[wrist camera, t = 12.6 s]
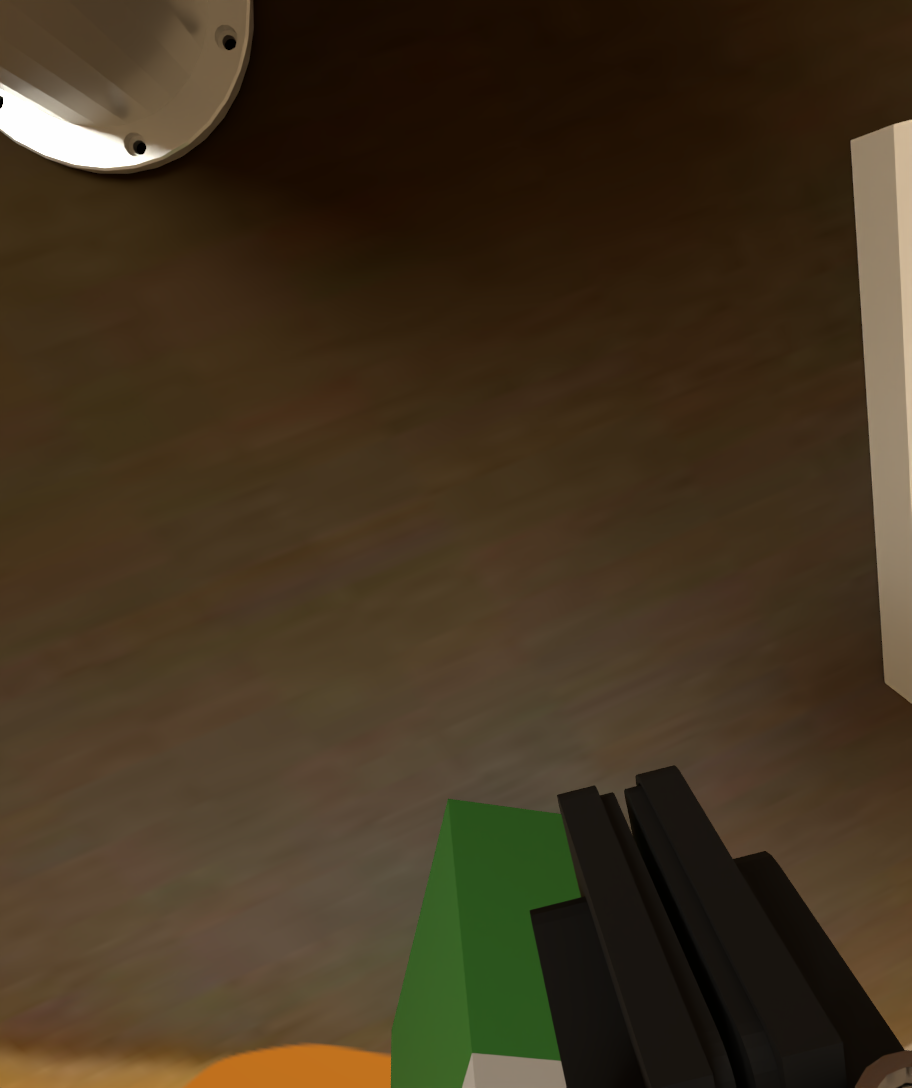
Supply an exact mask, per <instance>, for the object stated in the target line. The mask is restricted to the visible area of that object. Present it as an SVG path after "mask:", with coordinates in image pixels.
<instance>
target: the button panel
mask: <svg viewBox="0 0 912 1088" xmlns="http://www.w3.org/2000/svg"><path fill="white" fill-rule="evenodd" d="M851 157H852V173H853V189H854V205H855V221H856V236H857V252H858V268H859V284H860V300H861V316H862V332H863V348H864V364H865V380H866V395H867V411H868V427H869V443H870V459H871V475H872V491H873V507H874V523H875V538H876V554H877V570H878V586H879V602H880V618H881V634H882V650H883V666H884V681H885V683H886V684H887V685H888V686H889V687H891V688H892V689H893V690H895V691H896V692H897V693H899V694H900V695H901V696H902V697H904V698H905V699H906V700H908V701H909V702H910V703H911V704H912V120H908V121H904V122H901V123H897V124H893V125H890V126H888V127H885V128H882V129H880V130H877V131H874V132H872V133H869V134H867V135H864V136H861V137H859V138H856V139H853V140H851Z"/></svg>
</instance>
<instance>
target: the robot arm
mask: <svg viewBox="0 0 912 1088" xmlns="http://www.w3.org/2000/svg"><path fill="white" fill-rule="evenodd" d="M253 31H254V13H253V0H0V99H2V98H3V99H4V104H3V107H2V109H0V131H1V132H2V133H4V134H5V135H6V136H8V137H9V138H10V139H12V140H13V141H14V142H16V143H18V144H20V145H22V146H23V147H25V148H27V149H29V150H31V151H33V152H35V153H37V154H39V155H41V156H43V157H45V158H47V159H49V160H52V161H55V162H57V163H60V164H62V165H65V166H68V167H71V168H76V169H80V170H85V171H90V172H95V173H105V174H130V173H135V172H139V171H144V170H149V169H154V168H158V167H160V166H162V165H164V164H167V163H169V162H171V161H173V160H176V159H178V158H180V157H182V156H184V155H185V154H186V153H188V152H189V151H191V150H192V149H193V148H195V147H196V146H197V145H199V144H200V143H201V142H203V141H204V140H205V139H206V138H207V137H208V136H209V135H210V134H211V132H212V131H213V130H214V129H215V128H216V127H217V125H218V124H219V123H220V122H221V121H222V120H223V119H224V117H225V116H226V114H227V112H228V110H229V109H230V107H231V105H232V103H233V101H234V100H235V98H236V96H237V94H238V92H239V91H240V87H241V84H242V81H243V78H244V75H245V72H246V69H247V66H248V63H249V59H250V52H251V45H252V38H253ZM228 39H234V40H235V41H236V46H235V48H234V49H232V50H227V49H225V43H226V41H227V40H228ZM140 143H145V145H146V150H145V153H144V154H143V155H139V154H138V152H137V146H138V144H140ZM636 785H637V786H636V787H632V788H628V789H625V790H624V793H625V799H626V804H627V809H628V814H629V819H630V824H631V829H632V833H631V831H630V829H629V827H628V824H627V822H626V820H625V817H624V815H623V813H622V811H621V808H620V806H619V804H618V801H617V799H616V797H615V795H614V793H613V792H612V793H608V794H604V795H599V793H598V791H597V788H596V787H595V786H591V787H587V788H583V789H579V790H575V791H571V792H567V793H563V794H559V795H557V798H558V803H559V807H560V811H561V815H562V820H563V824H564V828H565V832H566V836H567V841H568V845H569V849H570V853H571V857H572V862H573V866H574V870H575V874H576V878H577V882H578V887H579V891H580V895H581V897H580V898H576V899H572V900H568V901H564V902H560V903H556V904H552V905H548V906H544V907H540V908H536V909H532V910H530V917H531V922H532V926H533V931H534V936H535V941H536V945H537V950H538V955H539V960H540V964H541V969H542V974H543V979H544V983H545V988H546V993H547V997H548V1002H549V1007H550V1012H551V1016H552V1021H553V1026H554V1031H555V1035H556V1040H557V1045H558V1049H559V1054H560V1059H561V1064H562V1068H563V1073H564V1078H565V1083H566V1087H567V1088H912V1051H909V1050H908V1051H907V1050H904V1048H903V1047H902V1045H901V1044H900V1042H899V1041H898V1039H897V1038H896V1037H895V1035H894V1034H893V1032H892V1031H891V1029H890V1028H889V1026H888V1025H887V1023H886V1022H885V1020H884V1019H883V1017H882V1016H881V1014H880V1013H879V1012H878V1010H877V1009H876V1007H875V1006H874V1004H873V1003H872V1001H871V1000H870V998H869V997H868V995H867V994H866V992H865V991H864V989H863V988H862V986H861V985H860V984H859V982H858V981H857V979H856V978H855V976H854V975H853V973H852V972H851V970H850V969H849V967H848V966H847V964H846V963H845V961H844V960H843V958H842V957H841V956H840V954H839V953H838V951H837V950H836V948H835V947H834V945H833V944H832V942H831V941H830V939H829V938H828V936H827V935H826V933H825V932H824V930H823V929H822V928H821V926H820V925H819V923H818V922H817V920H816V919H815V917H814V916H813V914H812V913H811V911H810V910H809V908H808V907H807V905H806V904H805V902H804V901H803V900H802V898H801V897H800V895H799V894H798V892H797V891H796V889H795V888H794V886H793V885H792V883H791V882H790V880H789V879H788V877H787V876H786V875H785V873H784V872H783V870H782V869H781V867H780V866H779V864H778V863H777V862H776V860H775V859H774V858H773V857H772V855H770V854H769V853H768V852H766V851H764V852H760V853H756V854H752V855H748V856H744V857H740V858H736V859H732V857H731V856H730V854H729V852H728V851H727V849H726V847H725V846H724V844H723V842H722V841H721V839H720V837H719V836H718V834H717V832H716V831H715V829H714V827H713V826H712V824H711V822H710V821H709V819H708V817H707V816H706V814H705V812H704V811H703V809H702V807H701V806H700V804H699V802H698V801H697V799H696V797H695V796H694V794H693V792H692V791H691V789H690V787H689V786H688V784H687V782H686V781H685V779H684V777H683V776H682V774H681V772H680V771H679V770H678V768H677V767H676V766H670V767H666V768H662V769H658V770H654V771H650V772H646V773H642V774H638V775H636ZM632 834H633V836H632Z"/></svg>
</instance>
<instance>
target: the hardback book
mask: <svg viewBox="0 0 912 1088" xmlns="http://www.w3.org/2000/svg"><path fill="white" fill-rule="evenodd" d="M580 897H581V895H580V891H579V887H578V882H577V878H576V874H575V870H574V866H573V862H572V857H571V853H570V849H569V845H568V841H567V836H566V832H565V828H564V824H563V820H562V815H561V814H556V813H549V812H542V811H534V810H527V809H519V808H512V807H505V806H497V805H490V804H482V803H475V802H468V801H460V800H453V799H448V802H447V806H446V810H445V814H444V818H443V822H442V826H441V830H440V834H439V838H438V843H437V847H436V851H435V855H434V859H433V863H432V867H431V871H430V875H429V879H428V884H427V888H426V892H425V896H424V900H423V904H422V908H421V912H420V916H419V920H418V925H417V929H416V933H415V937H414V941H413V945H412V949H411V953H410V957H409V962H408V966H407V970H406V974H405V978H404V982H403V986H402V990H401V994H400V998H399V1003H398V1007H397V1011H396V1015H395V1019H394V1023H393V1027H392V1042H391V1088H567V1087H566V1083H565V1078H564V1073H563V1068H562V1064H561V1059H560V1054H559V1049H558V1045H557V1040H556V1035H555V1031H554V1026H553V1021H552V1016H551V1012H550V1007H549V1002H548V997H547V993H546V988H545V983H544V979H543V974H542V969H541V964H540V960H539V955H538V950H537V945H536V941H535V936H534V931H533V926H532V922H531V917H530V910H532V909H536V908H540V907H544V906H548V905H552V904H556V903H560V902H564V901H568V900H572V899H576V898H580Z"/></svg>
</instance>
